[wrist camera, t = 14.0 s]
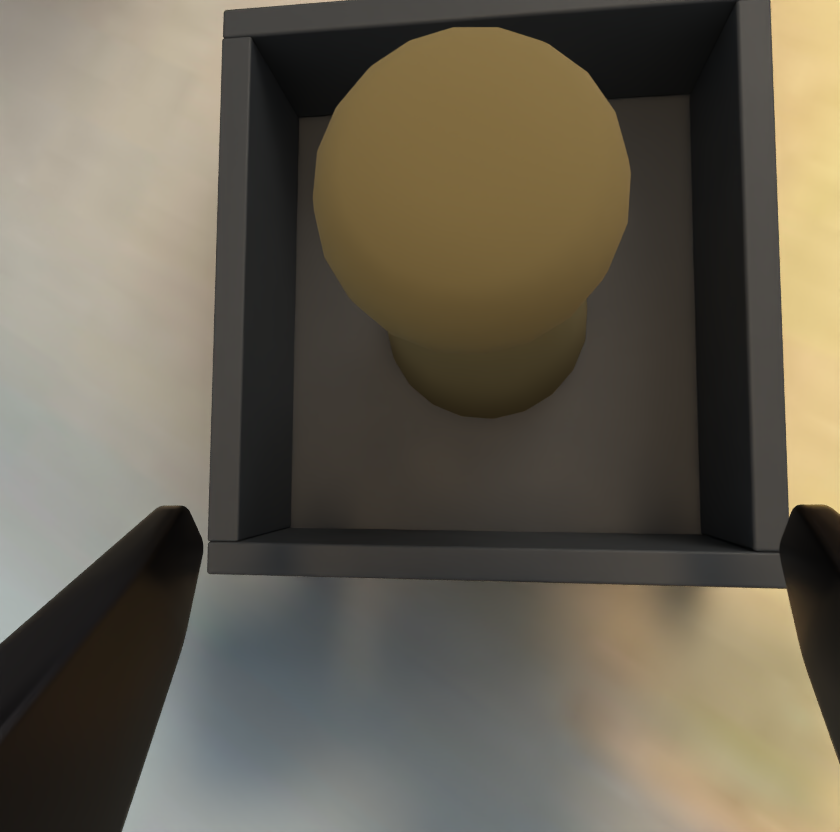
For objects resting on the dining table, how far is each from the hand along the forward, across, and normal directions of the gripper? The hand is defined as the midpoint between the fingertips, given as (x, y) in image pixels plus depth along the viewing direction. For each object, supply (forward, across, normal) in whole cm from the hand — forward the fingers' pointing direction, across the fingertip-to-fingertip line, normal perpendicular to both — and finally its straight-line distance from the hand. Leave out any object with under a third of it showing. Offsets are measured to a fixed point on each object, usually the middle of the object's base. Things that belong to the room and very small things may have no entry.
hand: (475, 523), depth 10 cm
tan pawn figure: (+11, 0, +3) cm, 12 cm away
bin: (+11, 0, +4) cm, 12 cm away
